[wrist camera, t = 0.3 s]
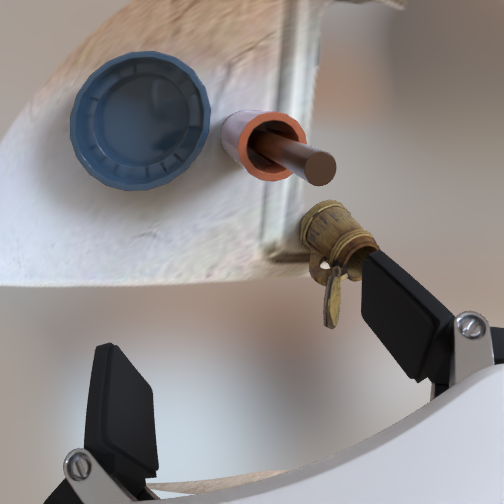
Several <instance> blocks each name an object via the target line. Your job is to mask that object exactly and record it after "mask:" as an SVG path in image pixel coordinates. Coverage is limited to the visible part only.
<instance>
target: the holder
mask: <svg viewBox="0 0 504 504" xmlns="http://www.w3.org/2000/svg"><path fill="white" fill-rule="evenodd" d="M254 128H255V129H258V130H262V131H265V132H269V133H272V134H275V135H278V136H282V137H285V138H288V139H291V140H294V141H297V142H300V143H303V144H306V145H307V142H306V136H305V133H304V131H303V129H302V128H301V126H300V124H299V123H298V122H297V121H296V120H294V119H293V118H292V117H290V116H289V115H287V114H284V113H279V112H273V111H259V110H243V111H239V112H236V113H234V114H232V115H231V116H230V117H229V118H228V119H227V120H226V121H225V122H224V124H223V126H222V129H221V143H222V146H223V148H224V149H225V151H226V152H227V153H228V154H229V156H230V157H232V158H233V159H234V160H235V161H236V162H237V163H238V164H239V165H241V166H242V167H243V168H244V169H245V170H246V171H247V172H248V173H249V174H251V175H253V176H255V177H256V178H258V179H260V180H265V181H278V180H281V179H285V178H287V177H289V176H290V175H291V174H293V172H291V171H289V170H288V169H286V168H284V167H283V166H281V165H279V164H278V163H276V162H274V161H272V160H271V159H269V158H267V157H265V156H264V155H262V154H260V153H258V152H257V151H255V150H253V149H251V148H250V147H248V146H247V142H248V137H249V136H250V134H251V132H252V131H253V129H254Z"/></svg>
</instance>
